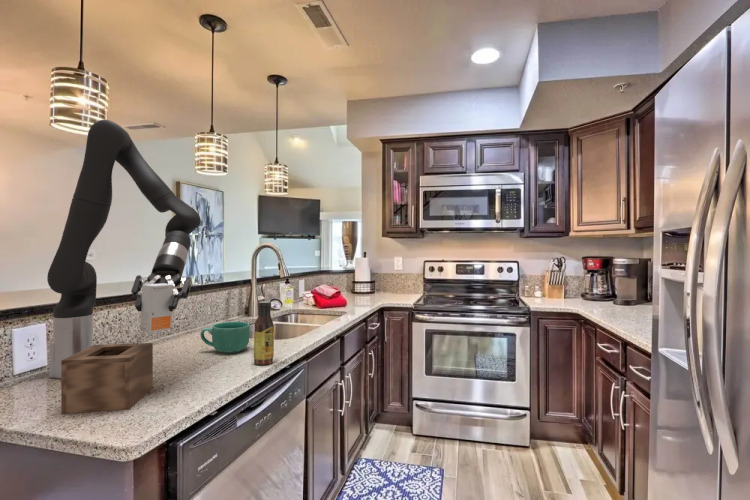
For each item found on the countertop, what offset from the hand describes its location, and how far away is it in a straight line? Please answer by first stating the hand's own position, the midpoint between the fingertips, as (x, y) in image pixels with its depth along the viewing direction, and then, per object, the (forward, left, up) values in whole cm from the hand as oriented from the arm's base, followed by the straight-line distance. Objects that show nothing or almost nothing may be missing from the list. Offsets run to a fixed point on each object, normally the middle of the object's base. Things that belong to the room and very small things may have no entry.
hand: (154, 309), depth 99 cm
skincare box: (0, +2, -6) cm, 6 cm away
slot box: (-9, -2, -22) cm, 24 cm away
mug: (+10, +40, -22) cm, 46 cm away
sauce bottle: (+25, +23, -22) cm, 40 cm away
